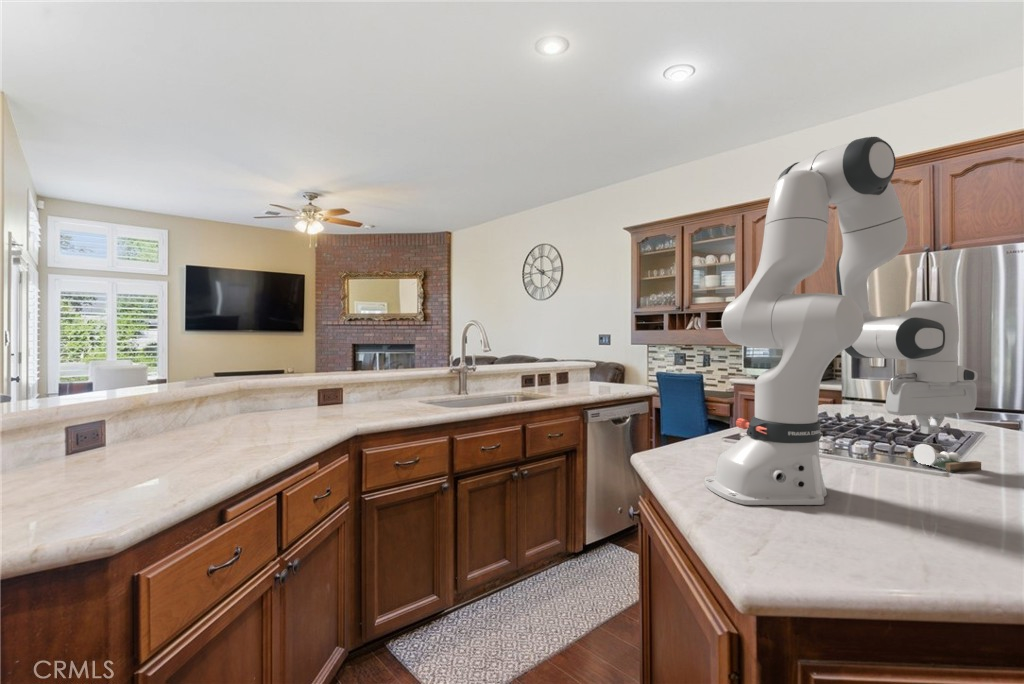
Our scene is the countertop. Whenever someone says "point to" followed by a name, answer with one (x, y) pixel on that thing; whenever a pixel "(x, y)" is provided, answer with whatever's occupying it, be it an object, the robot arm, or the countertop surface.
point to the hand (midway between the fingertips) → (929, 433)
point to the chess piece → (932, 455)
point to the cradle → (953, 464)
